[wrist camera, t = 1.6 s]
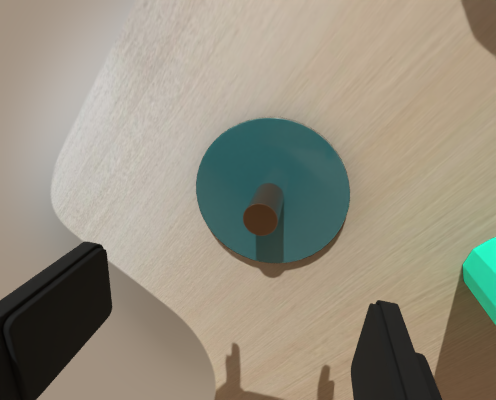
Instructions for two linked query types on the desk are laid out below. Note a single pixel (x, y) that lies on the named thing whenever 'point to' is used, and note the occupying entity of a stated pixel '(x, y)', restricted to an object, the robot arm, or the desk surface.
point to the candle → (483, 275)
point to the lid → (273, 190)
